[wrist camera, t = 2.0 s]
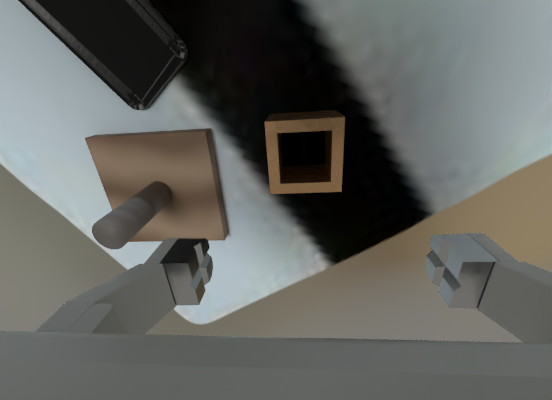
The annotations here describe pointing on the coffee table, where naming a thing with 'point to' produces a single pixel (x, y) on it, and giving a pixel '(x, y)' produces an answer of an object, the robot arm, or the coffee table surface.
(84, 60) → the phone
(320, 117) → the wooden square sleeve
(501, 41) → the coffee table surface
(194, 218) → the post stand
